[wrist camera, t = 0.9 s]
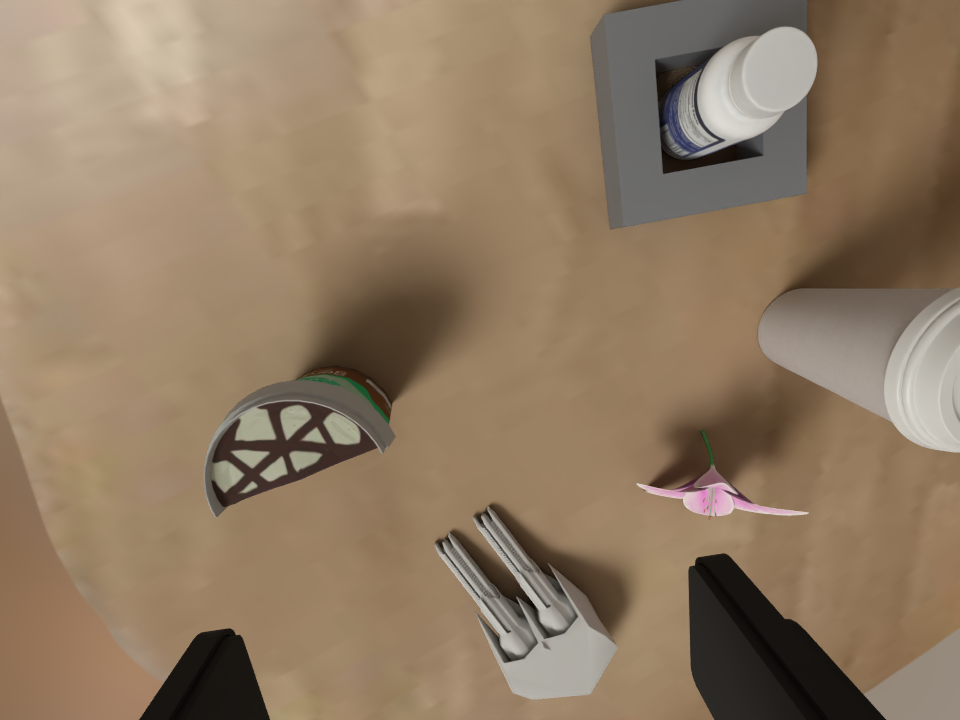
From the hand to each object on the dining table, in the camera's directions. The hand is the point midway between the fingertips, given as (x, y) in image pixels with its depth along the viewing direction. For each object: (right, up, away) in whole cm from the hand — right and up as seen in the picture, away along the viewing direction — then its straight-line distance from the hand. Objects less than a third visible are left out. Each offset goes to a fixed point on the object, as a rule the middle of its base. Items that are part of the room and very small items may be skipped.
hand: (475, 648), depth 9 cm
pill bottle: (+15, +23, +24) cm, 37 cm away
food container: (-13, +3, +27) cm, 30 cm away
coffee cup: (+26, +9, +28) cm, 39 cm away
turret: (+4, -16, +33) cm, 37 cm away
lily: (+18, -4, +30) cm, 36 cm away
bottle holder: (+15, +23, +23) cm, 36 cm away
